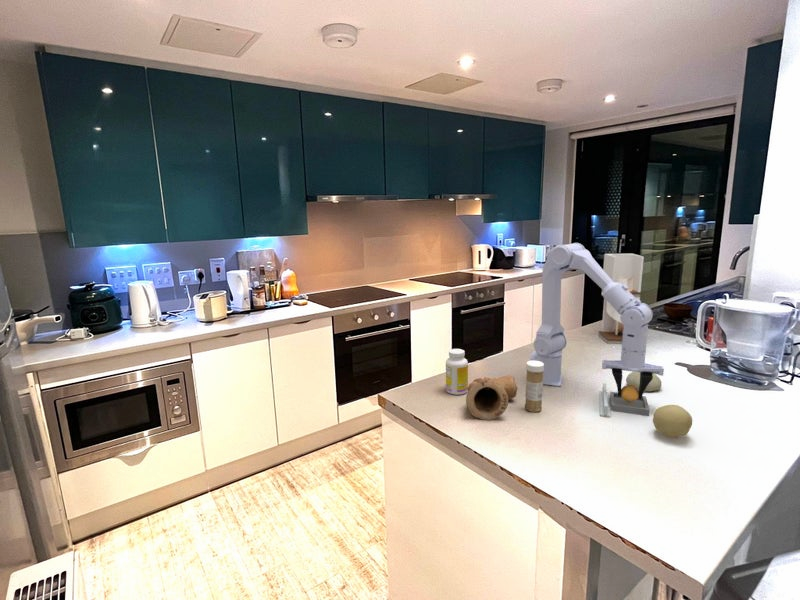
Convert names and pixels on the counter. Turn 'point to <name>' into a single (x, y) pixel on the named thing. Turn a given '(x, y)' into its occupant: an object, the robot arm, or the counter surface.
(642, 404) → the dish
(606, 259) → the tall curved cream stand
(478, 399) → the clay pipe
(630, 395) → the ball
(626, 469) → the counter surface
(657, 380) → the sea urchin shell
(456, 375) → the supplement bottle
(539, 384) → the sprinkles bottle
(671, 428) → the potato
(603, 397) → the divider
